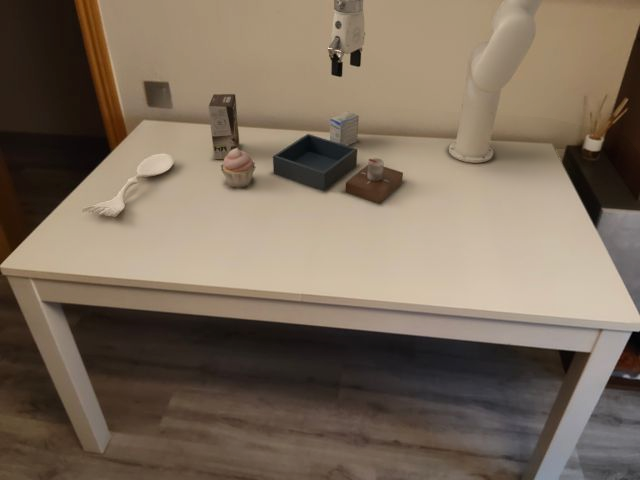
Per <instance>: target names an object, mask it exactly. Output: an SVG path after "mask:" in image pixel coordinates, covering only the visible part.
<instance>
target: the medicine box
mask: <svg viewBox="0 0 640 480" xmlns="http://www.w3.org/2000/svg"><path fill="white" fill-rule="evenodd" d="M359 121H360V116H359V115H358V114H356V113H354V112H351V111H346V112H343V113H341V114H339V115H336V116H333V117H332V118H330V119H329V140H330V141H333V142H336V143H340V144H343V145H346V146H350V145H353V144H354V143H357V142H358V137H359Z"/></svg>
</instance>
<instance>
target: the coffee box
mask: <svg viewBox="0 0 640 480" xmlns="http://www.w3.org/2000/svg"><path fill="white" fill-rule="evenodd" d="M208 113H209V114H208V115H209V122H210V133H211V140H212V141H211V142H212V149H213V159H214V160H224V158H225V157H226V156H227V155H228V154H229V152H230V151H231V150H233V149H236V148H238V149H239V150H240V144H241V143H240V134H239V132H240V131H239V122H238V110H237V100H236V94H235V93H220V94H218V93H215V94H212V97H211V99H210V102H209V104H208Z"/></svg>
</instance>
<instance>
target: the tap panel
mask: <svg viewBox="0 0 640 480" xmlns="http://www.w3.org/2000/svg"><path fill="white" fill-rule="evenodd" d="M367 173H368V164H367V165H365V166H364V167H363V168H361V170H359V171H358V172H356V173H355V174H354V175H352V177H350V178H349V179H348V180H347V181H346V182H345V189H344V192H345V193H346V194H349V195H352V196H355V197H358V198H360V199H363V200H367V201H369V202H372V203H374V204H377V205H380V204H381V203H382V202H383V201H384V200H385V199H386V198H387V197H388V196H390V194H391V193H393V192H394V191H395V189H397V188H398V187H399V186H400V185H401V184H402V183H403V178H404V172H403V171H399V170H396V169H393V168H389V167H387V166H384V167H383V178H382V179H381V180H379V181H372V180H369V179H368V178H367Z"/></svg>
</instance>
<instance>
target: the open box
mask: <svg viewBox="0 0 640 480" xmlns="http://www.w3.org/2000/svg"><path fill="white" fill-rule="evenodd" d="M357 161H358V148H357V147H356V148H355V147H352V146H350V145H348V146H346V145H343V144H340V143H336V142H333V141H330V139H326V138H323V137H320V136H316V135H313V134H310V133H307V134H305V135H304V136H302V137H301V138H299V139H297V140H295V141H294V142H293V143H291V144H290V145H288V146H286V147H285V148H283V149H282V150H280V151H279V152H277V153H276V154H274V155H273V156H272V169H273V174H274V175H277V176H279V177H282V178H284V179H287V180H290V181H293V182H296V183H299V184H302V185H304V186H307V187H310V188H313V189H316V190H319V191H320V192H326V191H327V190H329V188H331V187H332V186H334V185H335V184H336V183H337V182H338V181H339V180H341V179H342V178H343V177H345V176H346V175H347V174H349V173H350V172H351V171H352V170H354V169H355V168H356V167H357V164H358V163H357Z"/></svg>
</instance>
